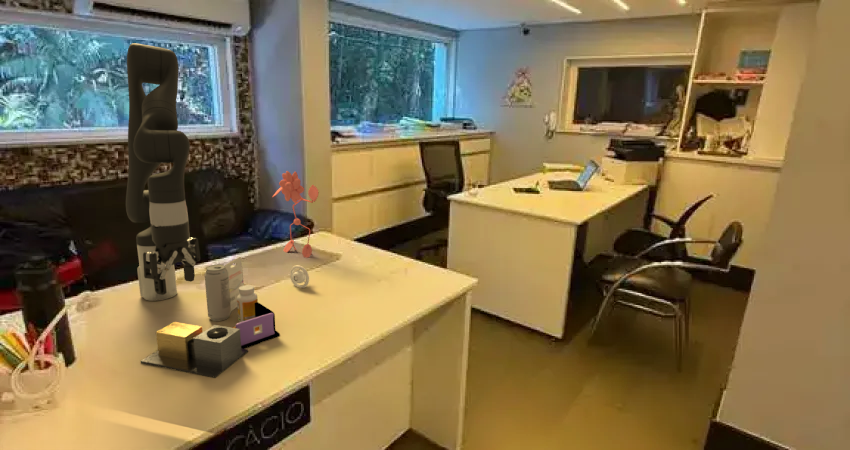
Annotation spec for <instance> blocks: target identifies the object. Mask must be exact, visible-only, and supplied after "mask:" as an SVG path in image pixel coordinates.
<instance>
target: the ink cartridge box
mask: <svg viewBox="0 0 850 450" xmlns="http://www.w3.org/2000/svg"><path fill="white" fill-rule="evenodd" d="M233 264H235V265H233ZM224 265H225V268H226V269H227V271H228V277H229V290H230V304H231V312H232V311H234V310H235V309H237V296H238V295H239V294H240V293H239V287H241V286H244V285H245V284H244V283H245V282H244V270H243V269H244V268H243V263H242V257H240V256H239V257H236V258H235V259H234V260H233V259H232V260H231V261H230V262H228V263H225V264H224Z"/></svg>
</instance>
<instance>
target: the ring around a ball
mask: <svg viewBox="0 0 850 450" xmlns="http://www.w3.org/2000/svg"><path fill="white" fill-rule="evenodd" d="M297 269H298V270H297ZM295 270H296V271H295ZM289 278H290V281H291V283H292V284H293V286H295V287H297V288H301V289H305V288H306V287H307V286H308V285H309V283H310V276H309V273H308V270H307V269H306V268H305V267H304V266H302V265H299V264H297V265H293V266H292V267H291V269H290V270H289ZM302 283H304V284H302ZM301 284H302V285H301Z"/></svg>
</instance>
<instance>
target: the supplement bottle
mask: <svg viewBox="0 0 850 450" xmlns="http://www.w3.org/2000/svg"><path fill="white" fill-rule="evenodd" d="M239 293H240V294H239V295H238V296H237V308H236V309H237V320H238V323H240V322H243V321H246V320H249V319H253V318H255V303H256V302H258V295H257V293H256V292H255V285H251V284H244V286H241V287H239ZM258 303H259V302H258Z"/></svg>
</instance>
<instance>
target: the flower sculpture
mask: <svg viewBox="0 0 850 450" xmlns="http://www.w3.org/2000/svg"><path fill="white" fill-rule="evenodd" d="M281 177H282V179H281V180H280V181H279V183H278V185H279V186H280V187H279V188H278V189H277V190H276V191H275V193H274V194H273V195H272V198H274V197H276V196H277V195H278V194H279V193H280V192H281V193H282V195H284V199H285V201H286V202H289V201H290V200H291V201H292V202H293V203H294V204H292V207H291V208H292V210H293V214H294V219H293V222H292V223H291V224H290V225H289V233H290V234H289V237H290V240H289V241H288V242H287V243H286V244H285V246H284V248H283V252H284V253H289V252H290V250H292V248H293V249H294V250H295V251H296V250H297V248H296V246H295V241H294V239H292V225H295V226H299V225H300V226H302V227H303V228H305V229H308V230H309V232H308V237H307V238H308V239H307V243H306V244H305V245H304V246H303V248H302V250H301V253H302V257H303V258H306V259H307V258H310V257H311V256H312V255H313V253H312V252H313V248H312V246H311V244H309V241H310V235H311V229H310V228H309V227H307V226H305V225H303V224H302V223H301V222H302V221H301V219H300V218H298V217H297V215H296V211H295V206H296V205H297V204H299V203H300V202H301V201H304V202H308V203H311V204H313V203H314V202H316V201H317V199H318V198H319V193H320V191H319V189H318V188H317V186H316V185H314V184H311V186H310V187H309V189H308V193H307V194H308V197H309V198H310V200H308V199H305V198H303V197H302V195H301V194H302V193H304V192H305V188H304V187H303V186H302V185H301V179H300V178H299V176H298V173H297V171H294V172H293V173H291V172H289V170H286V171H285V173H284V172H283V173H282V174H281Z"/></svg>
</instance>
